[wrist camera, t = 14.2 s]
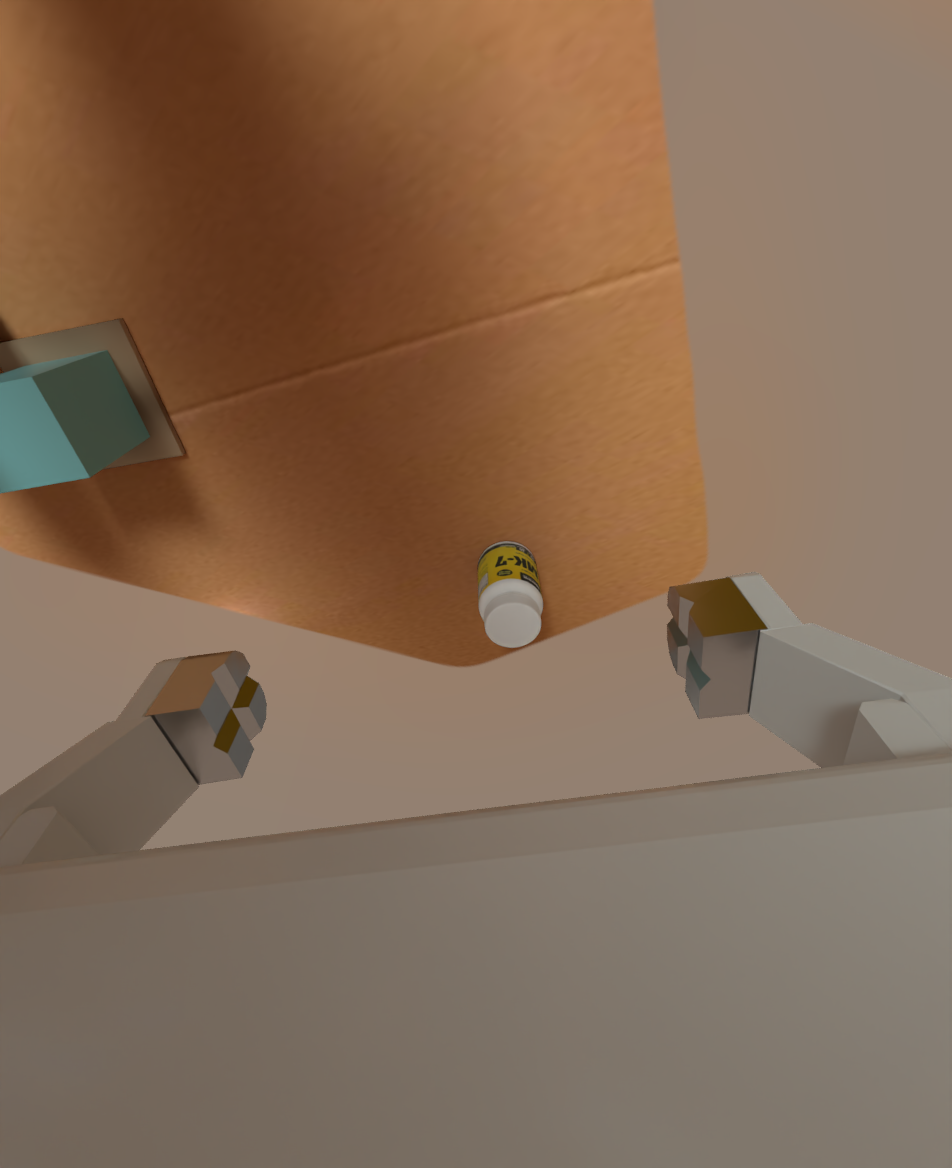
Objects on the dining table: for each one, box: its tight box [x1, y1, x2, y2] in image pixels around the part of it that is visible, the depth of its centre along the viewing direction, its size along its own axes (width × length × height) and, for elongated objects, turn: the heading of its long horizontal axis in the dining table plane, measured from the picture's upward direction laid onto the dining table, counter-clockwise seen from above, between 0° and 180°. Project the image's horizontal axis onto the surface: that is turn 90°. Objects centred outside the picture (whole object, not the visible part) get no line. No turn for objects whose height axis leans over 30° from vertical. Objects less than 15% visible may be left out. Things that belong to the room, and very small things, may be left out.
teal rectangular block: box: [0, 350, 150, 493], centre depth 35 cm, size 6×6×8 cm
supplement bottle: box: [478, 541, 543, 648], centre depth 42 cm, size 5×5×8 cm
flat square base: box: [0, 318, 185, 470], centre depth 36 cm, size 9×9×6 cm
